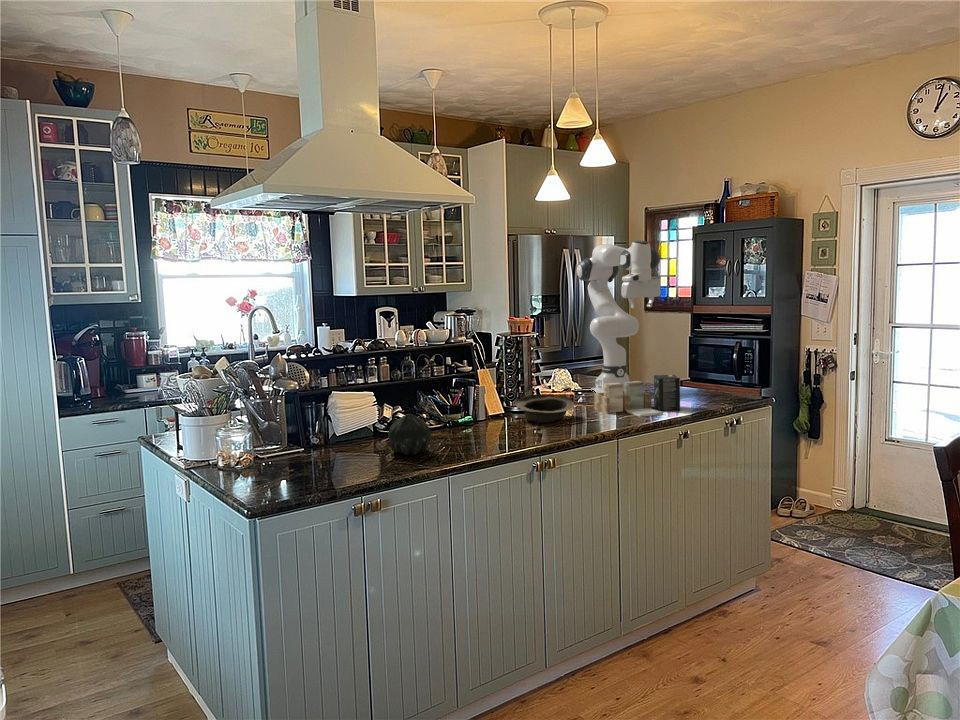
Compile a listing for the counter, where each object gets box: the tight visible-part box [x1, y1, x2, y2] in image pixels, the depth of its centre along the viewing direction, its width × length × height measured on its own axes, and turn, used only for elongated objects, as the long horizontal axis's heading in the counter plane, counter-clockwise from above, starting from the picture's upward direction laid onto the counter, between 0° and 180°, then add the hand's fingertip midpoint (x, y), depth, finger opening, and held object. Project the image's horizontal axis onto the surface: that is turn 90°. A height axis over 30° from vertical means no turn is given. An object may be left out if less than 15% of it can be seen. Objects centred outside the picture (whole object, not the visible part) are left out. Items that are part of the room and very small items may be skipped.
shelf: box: [592, 380, 652, 415], centre depth 321 cm, size 13×22×12 cm, turn 107°
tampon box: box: [653, 374, 681, 412], centre depth 319 cm, size 11×9×15 cm
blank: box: [604, 383, 624, 413], centre depth 318 cm, size 4×7×12 cm, turn 107°
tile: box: [626, 407, 664, 418], centre depth 311 cm, size 11×11×1 cm
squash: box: [388, 413, 432, 456], centre depth 254 cm, size 14×15×15 cm
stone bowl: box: [514, 393, 575, 424], centre depth 305 cm, size 25×25×9 cm
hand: (641, 307), depth 329 cm, fingers open, 8 cm apart
